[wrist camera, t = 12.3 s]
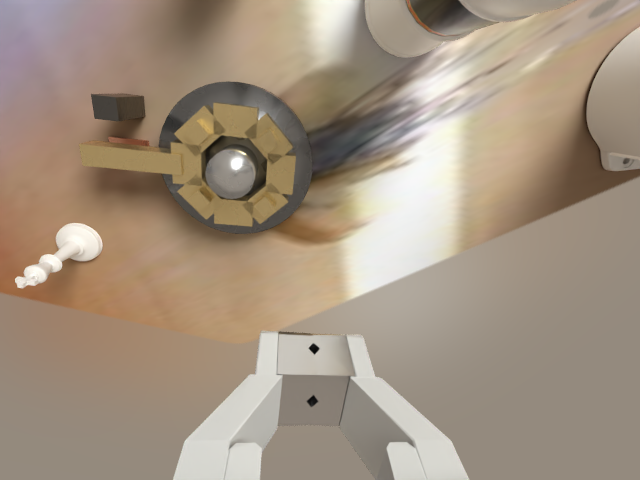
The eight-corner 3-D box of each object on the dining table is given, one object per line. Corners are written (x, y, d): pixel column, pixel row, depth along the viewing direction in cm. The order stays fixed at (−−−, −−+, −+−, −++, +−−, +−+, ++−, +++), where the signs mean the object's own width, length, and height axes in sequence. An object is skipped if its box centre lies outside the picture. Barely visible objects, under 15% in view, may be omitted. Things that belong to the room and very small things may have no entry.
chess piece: (57, 218, 39) (-14, 258, 29) (102, 227, 39) (47, 268, 30) (59, 255, 40) (-7, 302, 31) (102, 262, 41) (50, 310, 32)
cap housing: (318, 93, 35) (326, 93, 28) (303, 229, 42) (306, 258, 34) (99, 63, 32) (45, 56, 25) (120, 214, 39) (81, 242, 32)
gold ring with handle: (299, 112, 33) (300, 114, 30) (289, 222, 38) (289, 234, 35) (84, 84, 30) (63, 84, 27) (103, 207, 35) (86, 217, 32)
